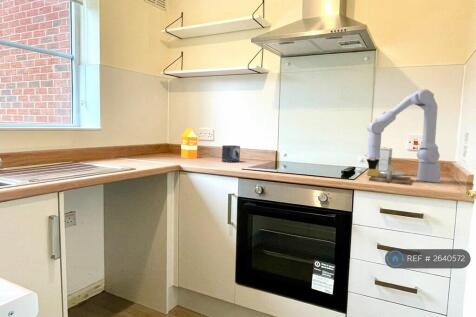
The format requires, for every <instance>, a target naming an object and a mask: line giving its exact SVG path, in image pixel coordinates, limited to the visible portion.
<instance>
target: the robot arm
mask: <svg viewBox="0 0 476 317" xmlns="http://www.w3.org/2000/svg"><path fill="white" fill-rule="evenodd" d="M434 97H435V94H434V93H433V92H432V91H431V90H429V89H425V88H424V89H421V90H417V91H416V90H415V91H413V92H412V93H410V94H408V95H406V97H405V98H404V99H403V100H401V102H399V103H398V104H397V105H396V106H395V107H393V108H392V109H391V110H385V111H382V114H381V115H380V116H379V117H378V118H374V121H372V122H370V123H369V124H368V126H367V128H366V129H367V132H368V139H367V140H368V142H367V152H366V153H367V154H364V157H368V158H367V159H366V162H367V164H368V169H377V163H378V162H379V160H378V158H379V157H380V148H381V144H382V133H383V132H384V130H385V128H387V127H389V125H390V124H392V123H393V122H394V121H395V120H396V119H397V118H396V117H397V116H398V115H399V114H400V113H401V112H403V111H404V110H406V109H407V108H408V107H410V106H413V105H415V106H418V107H419V108H421V109H422V110H423V125H422V138H421V139H422V140H421V143H420V145H419V148H418V151H417V153H416V157H417V159H418V168H417V177H416V178H415V180H416V181H419V182H430V183H440V179H441V163H437V161H439V159H440V157H441V155H440V153H439V147H438V145H437V144H436V134H437V119H438V104H437V102H436V100H435V98H434Z"/></svg>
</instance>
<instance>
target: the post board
mask: <svg viewBox="0 0 476 317" xmlns="http://www.w3.org/2000/svg"><path fill="white" fill-rule="evenodd" d="M411 179H412V177H410V176H392V171H388V172H387V175H383V174H378V177H376V176H369V178H368V182H377V183H378V182H379V183H387V184H396V185H406V186H410V185H411Z"/></svg>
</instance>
